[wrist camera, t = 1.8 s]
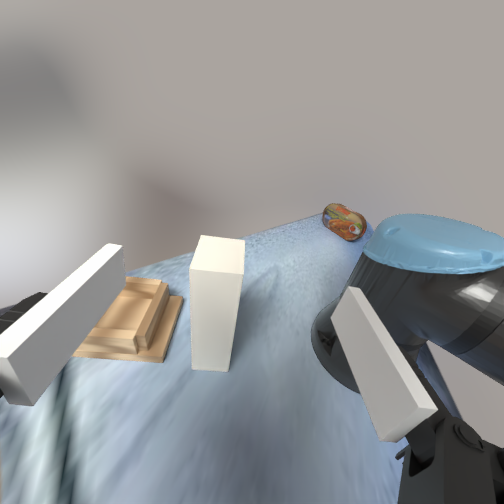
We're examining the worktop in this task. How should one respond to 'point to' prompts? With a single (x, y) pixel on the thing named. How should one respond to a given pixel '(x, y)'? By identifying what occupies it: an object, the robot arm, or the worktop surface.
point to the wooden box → (135, 324)
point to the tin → (344, 221)
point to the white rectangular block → (215, 300)
